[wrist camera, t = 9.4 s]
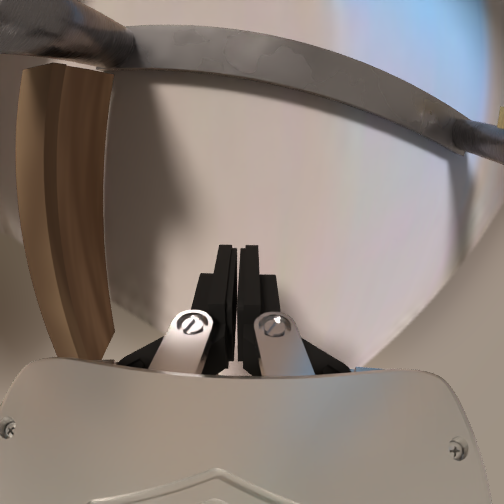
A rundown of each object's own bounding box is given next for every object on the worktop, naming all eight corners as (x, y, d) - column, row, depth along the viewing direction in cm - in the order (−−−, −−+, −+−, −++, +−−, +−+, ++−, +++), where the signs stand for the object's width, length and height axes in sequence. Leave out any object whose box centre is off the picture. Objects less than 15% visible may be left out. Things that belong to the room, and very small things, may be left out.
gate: (117, 74, 12) (53, 62, 7) (117, 332, 22) (91, 390, 16) (90, 76, 12) (22, 69, 7) (97, 327, 21) (69, 382, 16)
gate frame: (109, 21, 12) (-14, -27, 1) (469, 112, 14) (592, 145, 4) (97, 71, 13) (-46, 62, 3) (459, 155, 16) (579, 213, 5)
